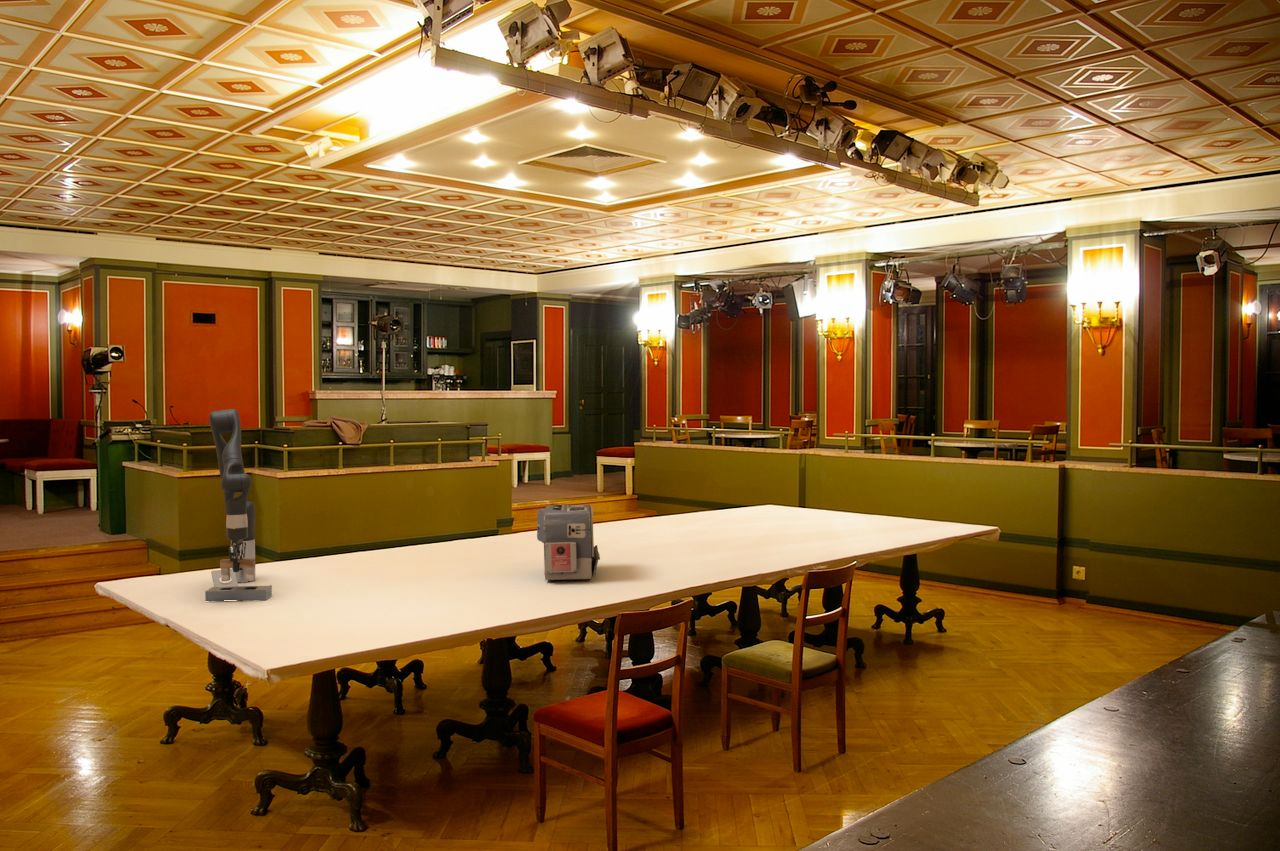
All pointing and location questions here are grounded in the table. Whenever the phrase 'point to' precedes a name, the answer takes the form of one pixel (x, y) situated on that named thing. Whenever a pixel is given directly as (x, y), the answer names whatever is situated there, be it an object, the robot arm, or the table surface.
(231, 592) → the grey slotted holder
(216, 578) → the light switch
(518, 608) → the table surface
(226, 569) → the brown u-shaped block
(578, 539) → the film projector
